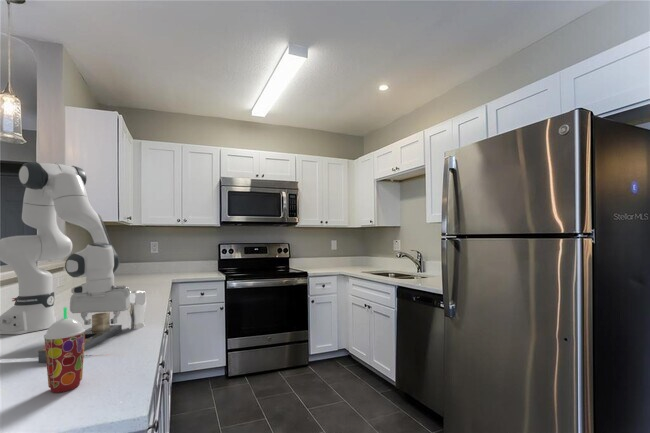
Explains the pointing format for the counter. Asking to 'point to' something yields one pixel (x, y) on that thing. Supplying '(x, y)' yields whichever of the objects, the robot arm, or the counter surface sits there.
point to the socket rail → (89, 339)
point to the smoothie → (64, 354)
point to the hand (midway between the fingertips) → (100, 324)
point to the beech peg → (101, 321)
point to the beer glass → (137, 309)
